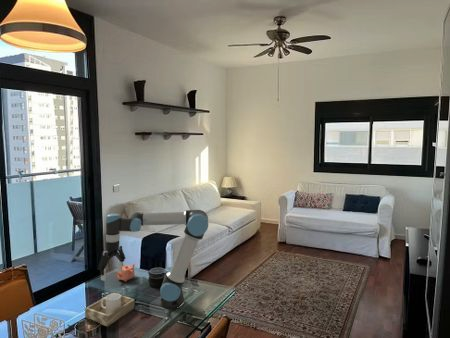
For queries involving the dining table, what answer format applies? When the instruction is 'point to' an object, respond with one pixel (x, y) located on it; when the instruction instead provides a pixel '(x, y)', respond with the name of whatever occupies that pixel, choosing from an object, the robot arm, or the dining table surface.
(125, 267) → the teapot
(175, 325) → the dining table surface
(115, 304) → the cup
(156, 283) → the container
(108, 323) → the wooden tray
